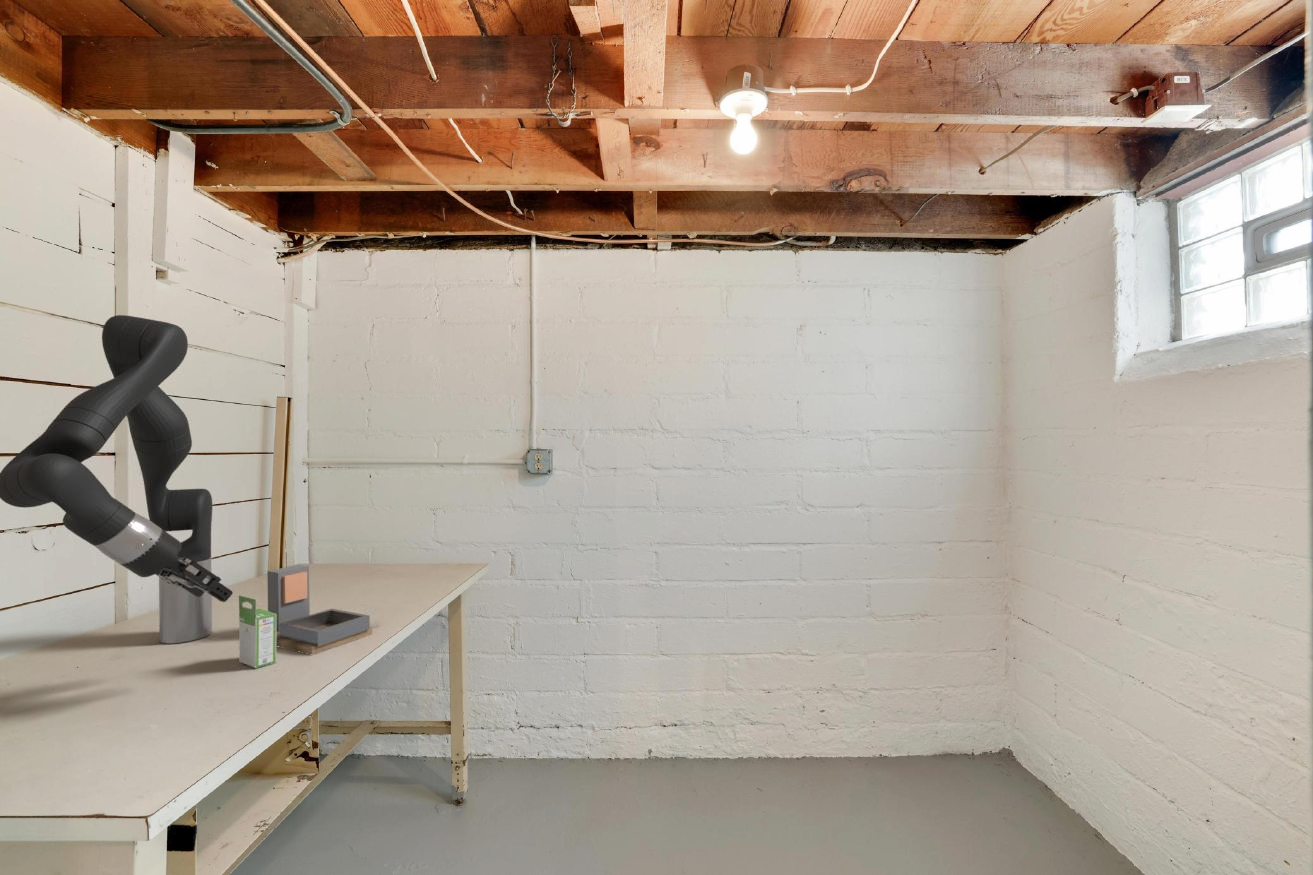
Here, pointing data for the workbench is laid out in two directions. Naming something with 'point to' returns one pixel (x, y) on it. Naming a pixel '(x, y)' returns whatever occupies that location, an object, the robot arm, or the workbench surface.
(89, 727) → the workbench surface
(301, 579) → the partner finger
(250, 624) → the ink box
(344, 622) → the dark gray rectangular frame
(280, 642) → the walnut rail base
